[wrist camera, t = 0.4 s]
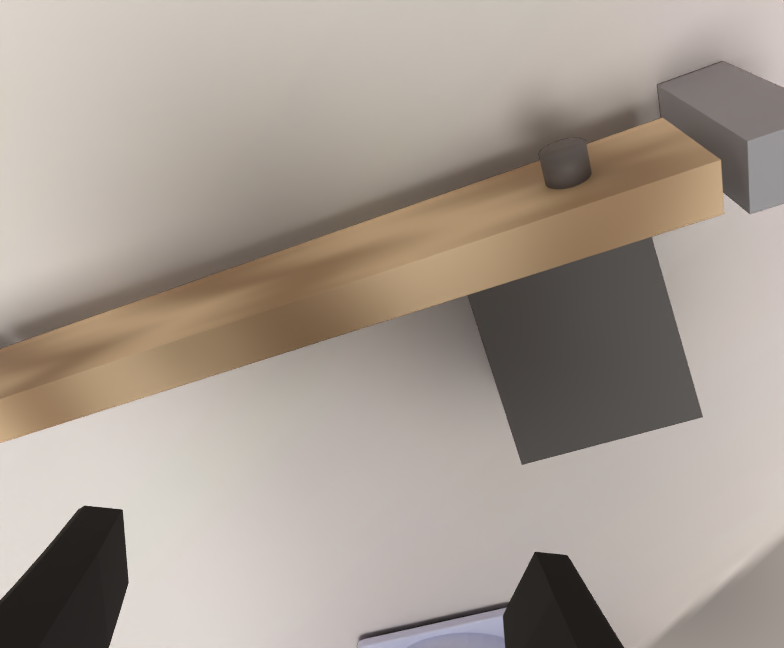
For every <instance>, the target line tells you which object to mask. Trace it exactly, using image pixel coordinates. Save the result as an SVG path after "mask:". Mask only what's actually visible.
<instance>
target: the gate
mask: <svg viewBox="0 0 784 648" xmlns="http://www.w3.org/2000/svg"><path fill="white" fill-rule="evenodd" d="M539 159H540V160H539V161H537V162H534V163H531V164H528V165H525V166H522V167H519V168H516V169H514V170H511V171H508V172H505V173H502V174H499V175H496V176H494V177H491V178H488V179H485V180H482V181H479V182H476V183H474V184H471V185H468V186H465V187H462V188H459V189H456V190H453V191H451V192H448V193H445V194H442V195H439V196H436V197H433V198H431V199H428V200H425V201H422V202H419V203H416V204H413V205H411V206H408V207H405V208H402V209H399V210H396V211H393V212H390V213H388V214H385V215H382V216H379V217H376V218H373V219H370V220H368V221H365V222H362V223H359V224H356V225H353V226H350V227H347V228H345V229H342V230H339V231H336V232H333V233H330V234H327V235H325V236H322V237H319V238H316V239H313V240H310V241H307V242H305V243H302V244H299V245H296V246H293V247H290V248H287V249H284V250H282V251H279V252H276V253H273V254H270V255H267V256H264V257H262V258H259V259H256V260H253V261H250V262H247V263H244V264H242V265H239V266H236V267H233V268H230V269H227V270H224V271H221V272H219V273H216V274H213V275H210V276H207V277H204V278H201V279H199V280H196V281H193V282H190V283H187V284H184V285H181V286H179V287H176V288H173V289H170V290H167V291H164V292H161V293H158V294H156V295H153V296H150V297H147V298H144V299H141V300H138V301H136V302H133V303H130V304H127V305H124V306H121V307H118V308H115V309H113V310H110V311H107V312H104V313H101V314H98V315H95V316H93V317H90V318H87V319H84V320H81V321H78V322H75V323H73V324H70V325H67V326H64V327H61V328H58V329H55V330H52V331H50V332H47V333H44V334H41V335H38V336H35V337H32V338H30V339H27V340H24V341H21V342H18V343H15V344H12V345H10V346H7V347H4V348H1V349H0V443H2V442H5V441H8V440H11V439H15V438H18V437H21V436H24V435H27V434H30V433H33V432H37V431H40V430H43V429H46V428H49V427H52V426H56V425H59V424H62V423H65V422H68V421H71V420H75V419H78V418H81V417H84V416H87V415H90V414H93V413H97V412H100V411H103V410H106V409H109V408H112V407H116V406H119V405H122V404H125V403H128V402H131V401H135V400H138V399H141V398H144V397H147V396H150V395H153V394H157V393H160V392H163V391H166V390H169V389H172V388H176V387H179V386H182V385H185V384H188V383H191V382H195V381H198V380H201V379H204V378H207V377H210V376H213V375H217V374H220V373H223V372H226V371H229V370H232V369H236V368H239V367H242V366H245V365H248V364H251V363H255V362H258V361H261V360H264V359H267V358H270V357H273V356H277V355H280V354H283V353H286V352H289V351H292V350H296V349H299V348H302V347H305V346H308V345H311V344H315V343H318V342H321V341H324V340H327V339H330V338H333V337H337V336H340V335H343V334H346V333H349V332H352V331H356V330H359V329H362V328H365V327H368V326H371V325H375V324H378V323H381V322H384V321H387V320H390V319H393V318H397V317H400V316H403V315H406V314H409V313H412V312H416V311H419V310H422V309H425V308H428V307H431V306H435V305H438V304H441V303H444V302H447V301H450V300H453V299H457V298H460V297H463V296H466V295H469V294H472V293H476V292H479V291H482V290H485V289H488V288H491V287H495V286H498V285H501V284H504V283H507V282H510V281H513V280H517V279H520V278H523V277H526V276H529V275H532V274H536V273H539V272H542V271H545V270H548V269H551V268H555V267H558V266H561V265H564V264H567V263H570V262H573V261H577V260H580V259H583V258H586V257H589V256H592V255H596V254H599V253H602V252H605V251H608V250H611V249H615V248H618V247H621V246H624V245H627V244H630V243H633V242H637V241H640V240H643V239H646V238H649V237H652V236H656V235H659V234H662V233H665V232H668V231H671V230H675V229H678V228H681V227H684V226H687V225H690V224H693V223H697V222H700V221H703V220H706V219H709V218H712V217H716V216H719V215H722V214H724V202H723V185H722V169H721V159H719V158H718V157H716V156H715V155H714V154H712V153H711V152H709V151H708V150H707V149H705V148H704V147H703V146H701V145H700V144H698V143H697V142H696V141H694V140H693V139H692V138H690V137H689V136H687V135H686V134H685V133H683V132H682V131H681V130H679V129H678V128H676V127H675V126H674V125H672V124H671V123H669V122H668V121H667V120H665V119H664V118H660V119H657V120H654V121H651V122H648V123H645V124H643V125H640V126H637V127H634V128H631V129H628V130H625V131H622V132H620V133H617V134H614V135H611V136H608V137H605V138H602V139H600V140H597V141H594V142H591V143H588V144H586V141H585V140H584V139H582V138H566V139H562V140H558V141H555V142H553V143H551V144H549V145H547V146H545V147H544V148H543V149H541V151H540V152H539Z"/></svg>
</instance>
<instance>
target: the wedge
mask: <svg viewBox="0 0 784 648" xmlns="http://www.w3.org/2000/svg"><path fill="white" fill-rule="evenodd" d="M468 298H469V301H470V304H471V308H472V311H473V314H474V317H475V320H476V323H477V326H478V329H479V332H480V336H481V339H482V342H483V345H484V348H485V351H486V354H487V357H488V360H489V363H490V367H491V370H492V373H493V376H494V379H495V382H496V385H497V388H498V391H499V395H500V398H501V401H502V404H503V407H504V410H505V413H506V416H507V419H508V423H509V426H510V429H511V432H512V435H513V438H514V441H515V444H516V447H517V451H518V454H519V457H520V460H521V463H522V465H523V464H527V463H531V462H534V461H538V460H542V459H546V458H550V457H553V456H557V455H561V454H565V453H568V452H572V451H576V450H580V449H584V448H587V447H591V446H595V445H599V444H603V443H606V442H610V441H614V440H618V439H622V438H625V437H629V436H633V435H637V434H641V433H644V432H648V431H652V430H656V429H659V428H663V427H667V426H671V425H675V424H678V423H682V422H686V421H690V420H694V419H697V418H701V417H703V416H702V412H701V409H700V405H699V402H698V398H697V395H696V391H695V388H694V384H693V381H692V377H691V374H690V370H689V367H688V363H687V360H686V356H685V353H684V349H683V346H682V342H681V339H680V335H679V332H678V328H677V325H676V321H675V318H674V314H673V311H672V307H671V304H670V300H669V297H668V293H667V290H666V286H665V283H664V279H663V276H662V272H661V268H660V265H659V261H658V258H657V254H656V251H655V247H654V244H653V240H652V237H649V238H646V239H643V240H640V241H637V242H633V243H630V244H627V245H624V246H621V247H618V248H615V249H611V250H608V251H605V252H602V253H599V254H596V255H592V256H589V257H586V258H583V259H580V260H577V261H573V262H570V263H567V264H564V265H561V266H558V267H555V268H551V269H548V270H545V271H542V272H539V273H536V274H532V275H529V276H526V277H523V278H520V279H517V280H513V281H510V282H507V283H504V284H501V285H498V286H495V287H491V288H488V289H485V290H482V291H479V292H476V293H472V294H469V295H468Z"/></svg>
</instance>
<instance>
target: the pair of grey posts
mask: <svg viewBox="0 0 784 648" xmlns="http://www.w3.org/2000/svg"><path fill="white" fill-rule="evenodd" d="M657 88H658V96H659V105H660V114H661V118H664V119H665V120H667V121H668V122H669V123H671V124H672V125H674V126H675V127H676V128H678V129H679V130H681V131H682V132H683V133H685V134H686V135H687V136H689V137H690V138H692V139H693V140H694V141H696V142H697V143H698V144H700V145H701V146H703V147H704V148H705V149H707V150H708V151H709V152H711V153H712V154H714V155H715V156H716V157H718V158H719V159H721V169H722V185H723V193H725V194H726V195H727V196H728V197H729V198H731V199H732V200H733V201H734V202H736V203H737V204H738V205H739V206H741V207H742V208H743V209H744V210H745V211H747V212H748V213H749V214H753V213H756V212H759V211H762V210H765V209H768V208H772V207H775V206H778V205H781V204H784V88H783V87H781V86H779V85H776V84H774V83H772V82H769V81H767V80H765V79H763V78H760V77H758V76H756V75H753V74H751V73H749V72H747V71H744V70H742V69H740V68H737V67H735V66H733V65H731V64H728V63H726V62H724V61H722V62H719V63H717V64H714V65H711V66H708V67H706V68H703V69H700V70H697V71H694V72H692V73H689V74H686V75H683V76H680V77H678V78H675V79H672V80H669V81H667V82H664V83H661V84H658V85H657Z"/></svg>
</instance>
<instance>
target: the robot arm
mask: <svg viewBox="0 0 784 648" xmlns="http://www.w3.org/2000/svg"><path fill="white" fill-rule="evenodd" d="M128 583H129V582H128V570H127V558H126V545H125V533H124V520H123V510H121V509H112V508H102V507H92V506H83V507H82V508H80V509H78V510H77V512H76V513H75V514H74V515H73V517H72V518H71V519H70V520H69V522H68V523H67V524H66V525H65V527H64V528H63V529H62V530H61V531H60V533H59V534H58V535H57V536H56V537H55V539H54V540H53V541H52V542H51V543H50V545H49V546H48V547H47V548H46V549H45V551H44V552H43V553H42V554H41V555H40V556H39V558H38V559H37V560H36V561H35V562H34V563H33V564H32V566H31V567H30V568H29V569H28V570H27V571H26V572H25V574H24V575H23V576H22V577H21V578H20V579H19V580H18V581H17V583H16V584H15V585H14V586H13V587H12V588H11V589H10V590H9V591H8V592H7V593H6V595H5V596H4V597H3V598H2V599H1V600H0V648H109V645H110V642H111V639H112V636H113V632H114V629H115V626H116V623H117V620H118V616H119V613H120V610H121V606H122V603H123V600H124V596H125V593H126V589H127V586H128ZM357 648H624V647H623V645H622V644H621V642H620V641H619V639H618V637H617V636H616V634H615V632H614V631H613V629H612V628H611V626H610V624H609V623H608V621H607V620H606V618H605V616H604V615H603V613H602V611H601V610H600V608H599V606H598V605H597V603H596V601H595V600H594V598H593V597H592V595H591V593H590V592H589V590H588V588H587V587H586V585H585V583H584V582H583V580H582V578H581V577H580V575H579V573H578V572H577V570H576V568H575V567H574V565H573V563H572V562H571V560H570V559H569V557H568V556H567V555H561V554H551V553H541V552H535V553H534V555H533V557H532V559H531V561H530V563H529V565H528V567H527V569H526V571H525V573H524V575H523V577H522V579H521V581H520V583H519V584H518V586H517V588H516V590H515V592H514V594H513V596H512V598H511V600H510V602H509V604H508V606H507V608H502V609H498V610H493V611H489V612H484V613H480V614H475V615H471V616H466V617H462V618H457V619H453V620H448V621H444V622H439V623H435V624H430V625H425V626H421V627H416V628H412V629H407V630H403V631H398V632H394V633H389V634H385V635H380V636H376V637H371V638H367V639H363V640H361V641H360V642H358V644H357Z"/></svg>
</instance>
